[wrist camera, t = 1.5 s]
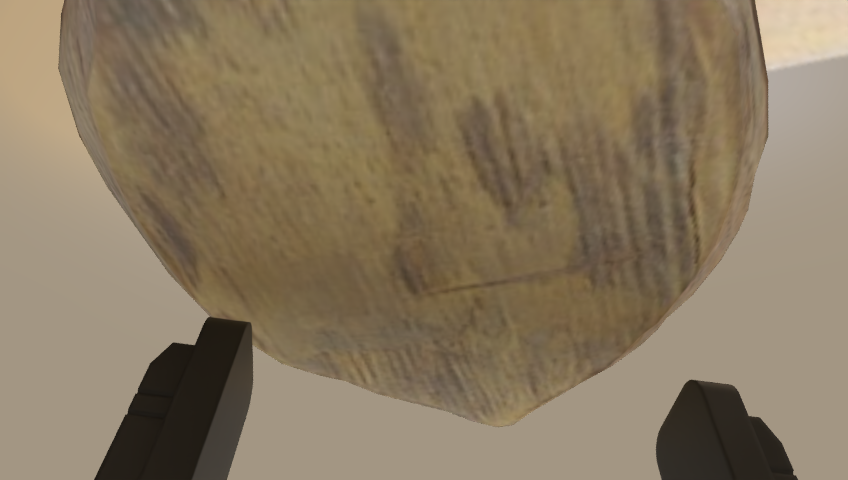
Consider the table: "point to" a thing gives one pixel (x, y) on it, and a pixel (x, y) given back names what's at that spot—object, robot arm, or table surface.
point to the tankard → (428, 175)
